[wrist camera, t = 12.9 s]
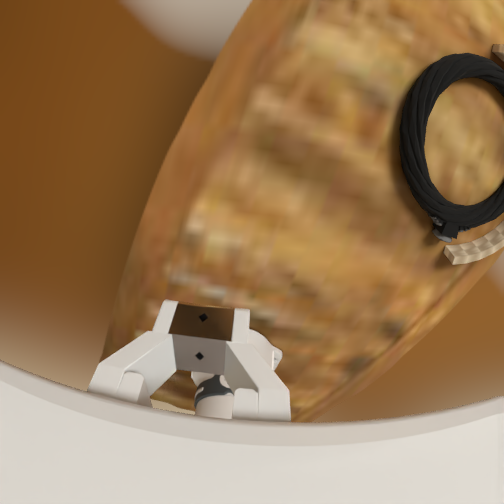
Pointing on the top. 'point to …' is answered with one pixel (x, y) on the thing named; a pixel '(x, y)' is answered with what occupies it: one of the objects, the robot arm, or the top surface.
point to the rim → (490, 241)
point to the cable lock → (413, 139)
